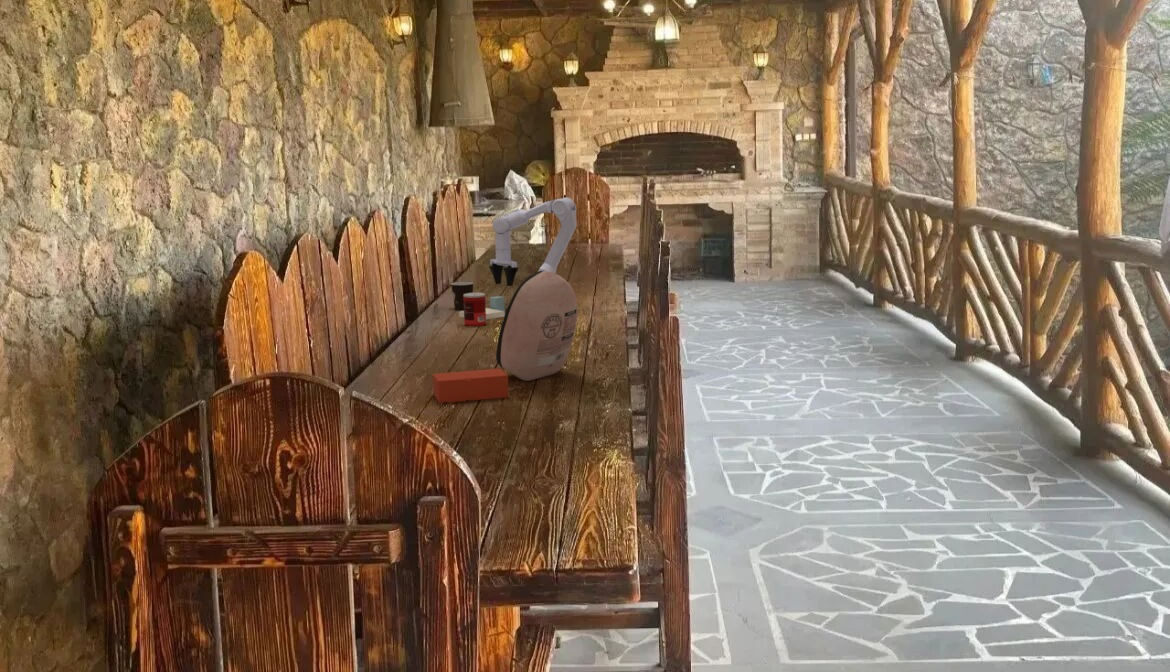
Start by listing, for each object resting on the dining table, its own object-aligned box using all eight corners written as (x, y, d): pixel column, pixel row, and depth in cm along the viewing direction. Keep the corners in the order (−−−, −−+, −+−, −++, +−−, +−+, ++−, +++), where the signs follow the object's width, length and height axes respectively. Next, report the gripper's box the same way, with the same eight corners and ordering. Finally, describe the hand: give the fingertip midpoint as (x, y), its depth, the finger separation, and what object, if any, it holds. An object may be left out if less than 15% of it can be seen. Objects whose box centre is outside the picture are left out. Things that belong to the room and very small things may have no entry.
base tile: (504, 316, 392) (504, 311, 392) (478, 320, 385) (477, 315, 384) (485, 312, 401) (485, 307, 401) (459, 316, 393) (459, 311, 393)
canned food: (488, 322, 380) (487, 292, 378) (483, 326, 372) (482, 295, 370) (467, 322, 381) (465, 292, 379) (462, 326, 373) (461, 295, 371)
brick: (501, 390, 281) (500, 368, 279) (508, 398, 272) (508, 375, 271) (433, 396, 275) (432, 373, 274) (439, 404, 267) (438, 381, 266)
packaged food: (539, 365, 308) (537, 263, 302) (592, 374, 296) (590, 267, 290) (486, 380, 291) (482, 271, 286) (539, 389, 279) (536, 276, 273)
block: (505, 312, 401) (504, 297, 400) (496, 314, 398) (496, 298, 397) (498, 311, 404) (498, 296, 403) (490, 312, 401) (489, 297, 400)
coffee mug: (472, 310, 407) (471, 284, 405) (450, 311, 407) (449, 285, 405) (476, 305, 418) (475, 280, 416) (454, 306, 418) (453, 281, 417)
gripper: (483, 248, 404) (484, 283, 406) (505, 251, 393) (506, 287, 395) (498, 247, 408) (499, 282, 411) (521, 249, 397) (521, 285, 400)
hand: (504, 284), depth 403 cm, fingers open, 7 cm apart
